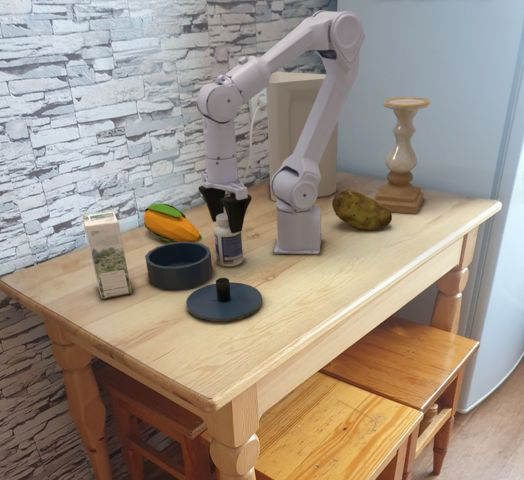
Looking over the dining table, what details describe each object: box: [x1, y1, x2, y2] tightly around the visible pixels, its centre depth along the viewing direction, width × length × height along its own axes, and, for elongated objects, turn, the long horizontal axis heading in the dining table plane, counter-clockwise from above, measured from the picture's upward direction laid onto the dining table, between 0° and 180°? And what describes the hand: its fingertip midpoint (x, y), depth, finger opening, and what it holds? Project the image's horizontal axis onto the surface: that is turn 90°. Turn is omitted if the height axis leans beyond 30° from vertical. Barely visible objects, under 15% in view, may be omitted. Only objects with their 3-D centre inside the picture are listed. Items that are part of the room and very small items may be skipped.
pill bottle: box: [213, 212, 244, 268], centre depth 113 cm, size 5×5×10 cm
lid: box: [185, 277, 263, 322], centre depth 99 cm, size 13×13×5 cm
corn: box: [143, 202, 203, 243], centre depth 124 cm, size 7×8×20 cm
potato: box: [331, 189, 393, 231], centre depth 126 cm, size 8×13×8 cm, turn 58°
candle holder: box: [372, 96, 431, 215], centre depth 133 cm, size 11×11×24 cm
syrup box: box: [82, 210, 133, 300], centre depth 103 cm, size 6×6×14 cm
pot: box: [144, 241, 214, 291], centre depth 110 cm, size 12×12×5 cm
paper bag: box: [265, 71, 339, 202], centre depth 143 cm, size 19×15×28 cm
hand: (226, 226), depth 111 cm, fingers open, 7 cm apart
